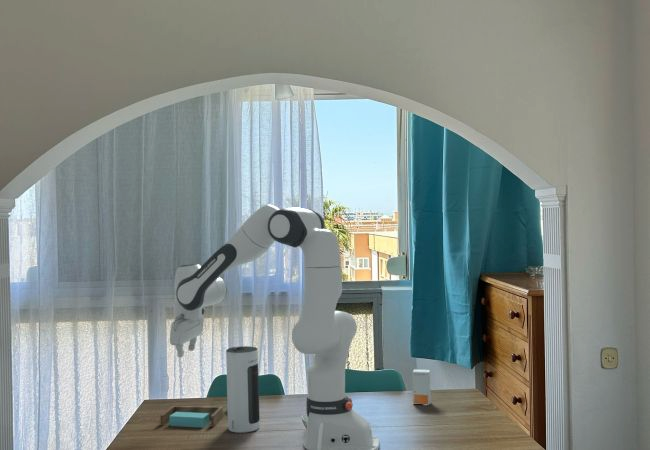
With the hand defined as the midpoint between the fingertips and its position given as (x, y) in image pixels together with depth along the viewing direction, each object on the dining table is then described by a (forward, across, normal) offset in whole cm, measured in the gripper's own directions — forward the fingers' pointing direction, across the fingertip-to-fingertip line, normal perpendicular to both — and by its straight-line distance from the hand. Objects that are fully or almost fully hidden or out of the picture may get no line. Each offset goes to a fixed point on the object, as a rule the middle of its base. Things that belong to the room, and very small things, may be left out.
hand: (186, 353), depth 216 cm
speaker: (+22, -4, -22) cm, 31 cm away
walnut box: (+23, +1, -3) cm, 23 cm away
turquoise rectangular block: (+23, -2, -3) cm, 24 cm away
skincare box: (+19, +30, -78) cm, 86 cm away
